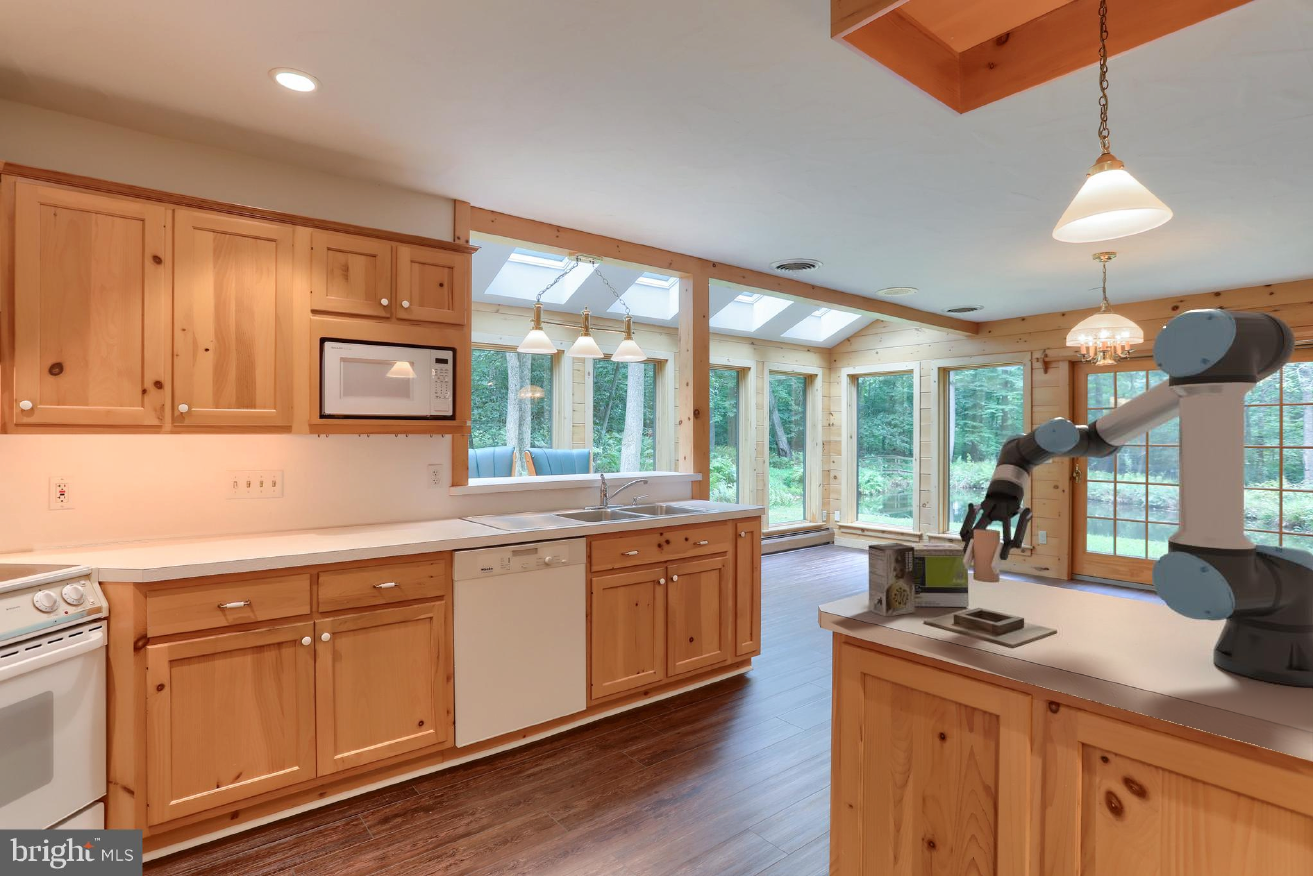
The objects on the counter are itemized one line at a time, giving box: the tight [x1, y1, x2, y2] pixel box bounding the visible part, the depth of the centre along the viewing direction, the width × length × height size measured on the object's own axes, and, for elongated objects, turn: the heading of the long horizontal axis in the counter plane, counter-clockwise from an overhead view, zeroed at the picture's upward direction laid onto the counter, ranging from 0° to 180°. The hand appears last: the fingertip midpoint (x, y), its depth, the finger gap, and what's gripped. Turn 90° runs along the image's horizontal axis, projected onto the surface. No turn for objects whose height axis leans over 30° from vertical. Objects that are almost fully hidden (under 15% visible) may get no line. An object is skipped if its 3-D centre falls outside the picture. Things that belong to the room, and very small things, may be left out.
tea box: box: [899, 542, 970, 608], centre depth 161 cm, size 15×10×15 cm, turn 84°
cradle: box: [922, 607, 1058, 648], centre depth 140 cm, size 20×18×3 cm
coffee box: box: [868, 542, 916, 617], centre depth 153 cm, size 9×6×16 cm
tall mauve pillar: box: [972, 528, 1001, 583], centre depth 140 cm, size 5×5×11 cm
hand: (980, 567), depth 138 cm, fingers closed on tall mauve pillar, 5 cm apart
